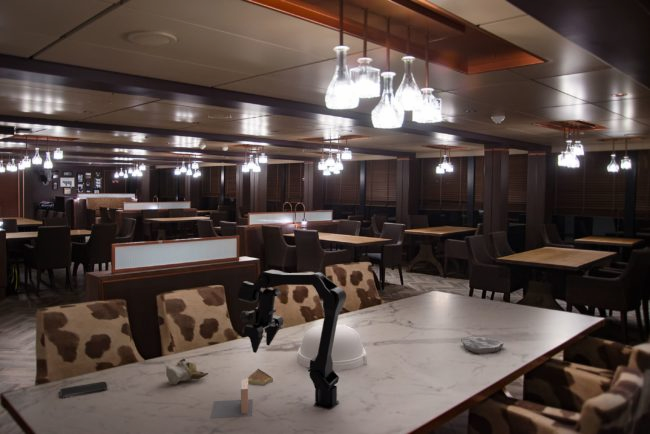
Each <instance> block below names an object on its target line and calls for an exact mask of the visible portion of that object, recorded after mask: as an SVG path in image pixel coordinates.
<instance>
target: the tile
mask: <svg viewBox="0 0 650 434" xmlns="http://www.w3.org/2000/svg"><path fill="white" fill-rule="evenodd" d="M248 399H249V384H248V378H242V379H241V386H240V400H241V413H242V414H245V413H248Z"/></svg>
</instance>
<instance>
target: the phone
mask: <svg viewBox="0 0 650 434" xmlns="http://www.w3.org/2000/svg"><path fill="white" fill-rule="evenodd" d="M106 391H108V384H107V382H106V381H100V382H92V383H87V384H86V383H85V384H81V385H75V386H67V387H62V388H59V397H67V398H71V397H70V396H73V397H78V395H79V396H83V395H90V394H95V393H100V392H101V393H103V392H106Z"/></svg>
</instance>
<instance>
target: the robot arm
mask: <svg viewBox="0 0 650 434" xmlns="http://www.w3.org/2000/svg"><path fill="white" fill-rule="evenodd" d="M280 286H312V287H313V288H314V289H315V292H316V293H317V295H318V296H319V297H320V298H321V299H322V309H323V313H324V316H323V321H322V325H323V327H322V333H321V338H320V344H319V349H318V355H317V356H315V357H314V358H313V359H311V360H310V368H308V369H307V372H308V373H309V374H308V376H309V378H310V379H311V381H312V383H313V386H314V391H315V392H314V403H313V406H315V407H318V408H319V407H320V408H324V409H328V410H331V409H333V408H334V407H335V406H337V405H338V404H339V403H340V401H339V400H338V390H337V389H338V386H337V385H336V384H338V382H339V379H340V376H339V374H337V373H336V371H333V362H332V358H331V353H332V347H333V342H334V336H335V331H336V325H337V324H338V319H339V315H340V313H341V311H342V309H343V307H344V305H345V302H346V299H347V293H346V291H345V289H343V288H342V287H340V286H338V284H336V283H335V282H334V281H332V280H331V279H329V278H328V277H327V276H325V274H324V273H323V272H291V273H289V272H285V271H281V270H277V269H276V270H275V269H269V270H266V271H262V272H260V273H259V275H258V278H257V280H255V282H254V283H252V282H250V281H247V280H246V281H243V282H242V285H241V286H240V287H239V289H238V291H237V298H238V300H240V301H243V302H247V303H251V304H255V303H257V307H255V308H254V310H250V311H248V310H243V311H241V312H240V316H239V319H240V321H242V323H243V324H246V323H247V322H248V324H247V325H245V326H243V328H242V334H243V335H245V336H246V337H248V338H249V342H250V344H251V349H252V352H253V353H254V354H257V353H258V349H259V347H260V346H261V342H262V341H263V339H264V330H266V332H265V333H266V334H265V343H266V346H270V345H271V343H272V342H273V340H274V338H275V337H276V336H277V334H278V331H280V329H281V328H282V326H283V325H284V318H283V316H279V315H275V314H274V313H276V312H277V309H276V308H275V302H276V297H278V296H281V295H282V292H281V291H280V290H279V288H278V287H280ZM272 288H273V289H272ZM249 322H251V323H249Z"/></svg>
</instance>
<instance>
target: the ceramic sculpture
mask: <svg viewBox="0 0 650 434" xmlns="http://www.w3.org/2000/svg"><path fill="white" fill-rule="evenodd" d="M165 372H166V377H167V380H168V382H169V384H170V385H177V384H178V383H179V382H188V381H191V380H200V379H202V378H204V377H206V376H208V375H209V372H203V371H198V370H197V365H196V363H195V362H193V361H191V360H186V359H185V358H183V359H180V360H179V361H177V364H176V365H173V366H171V365H169V366H168V365H167V366H166V367H165Z"/></svg>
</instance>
